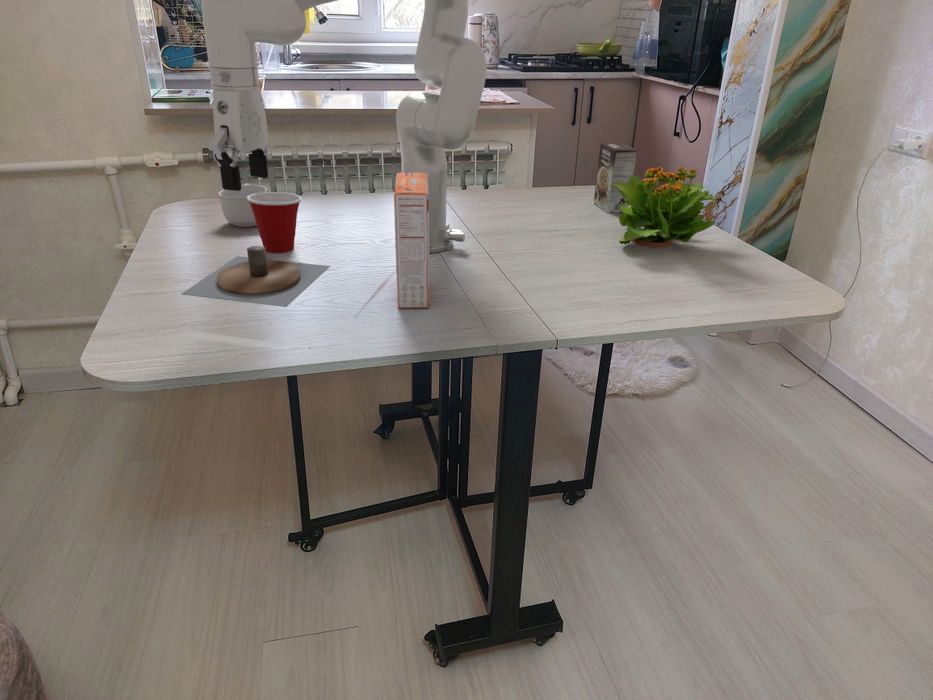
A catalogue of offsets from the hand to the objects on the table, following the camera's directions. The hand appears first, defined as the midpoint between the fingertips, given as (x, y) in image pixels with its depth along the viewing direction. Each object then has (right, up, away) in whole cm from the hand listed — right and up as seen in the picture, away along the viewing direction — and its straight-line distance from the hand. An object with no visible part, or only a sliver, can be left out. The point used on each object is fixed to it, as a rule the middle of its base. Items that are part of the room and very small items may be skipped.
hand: (246, 183), depth 118 cm
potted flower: (+82, -4, +39) cm, 91 cm away
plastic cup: (-1, -9, +25) cm, 26 cm away
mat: (0, -17, +9) cm, 19 cm away
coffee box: (+77, +9, +62) cm, 99 cm away
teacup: (-13, +1, +42) cm, 44 cm away
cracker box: (+29, -19, +7) cm, 35 cm away
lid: (0, -16, +9) cm, 18 cm away
